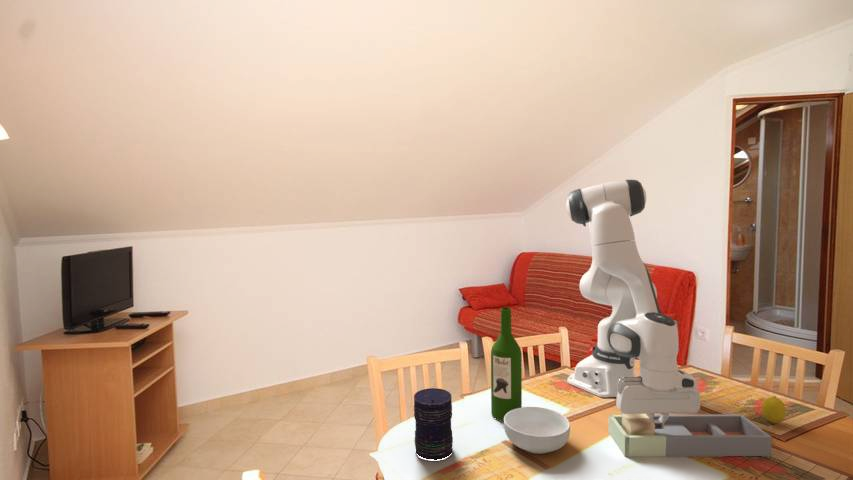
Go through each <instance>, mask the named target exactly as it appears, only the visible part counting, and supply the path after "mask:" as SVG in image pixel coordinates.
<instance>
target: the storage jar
mask: <svg viewBox="0 0 853 480" xmlns="http://www.w3.org/2000/svg"><path fill="white" fill-rule="evenodd" d="M452 398H453V397H452V393H450V391H448V390H446V389H443V388H435V387H433V388H432V387H431V388H424V389H420V390H419V391H418V390H417V392H415V393H414V395H413V413H414V414H413V416H414V420H415V431H414V445H415V446H414V447H415V449H416V453H417V454H418V455H419V456H421V457H423V458H426V459H434V460H437V459H442V458H445V457H447V456H449V455H450V454H451V453H452V454H453V443H454V439H453V430H452V418H453V417H452V416H453V412H452V411H453V404H452ZM416 453H415V454H416Z"/></svg>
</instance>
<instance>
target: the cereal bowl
mask: <svg viewBox="0 0 853 480" xmlns="http://www.w3.org/2000/svg"><path fill="white" fill-rule="evenodd" d="M503 428H504V433H505V435H506V437H507V438H508V440H509V441H510V442H511V443H512V444H514V445H515V446H516V447H518V448H520V449H522V450H523V451H524V450H525V451H526V452H528V453H531V454H538V455H539V454H540V455H541V454H542V455H543V454H546V453H551V452H555V451H557V450H559V449H561V448H562V447H564V446H565V444H566V443H568V441H569V438H570V432H571V423H570V421H569V419H568V417H566V416H565V415H563V414H562V413H560V412H558V411H556V410H554V409H549V408H546V407H541V406H522V408H517V409H514V410H511V411H509V412H508V413H507V414H506V415H505V416H504V422H503Z"/></svg>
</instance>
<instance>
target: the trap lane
mask: <svg viewBox="0 0 853 480" xmlns="http://www.w3.org/2000/svg"><path fill="white" fill-rule="evenodd" d="M660 416H661V414H655V417H652V418H653V419H654V420H659V418H660ZM607 430H608V434H609V435H610V436H611V438H612V440H613V442H614V443H615V445H616V446H617V447H618V449H619V450H620V452H621V454H622V455H623V456H624V457H626V458H627V457H628V458H629V457H634V458H635V457H636V458H637V457H645V458H646V457H650V458H651V457H653V458H654V457H656V458H657V457H663V456H664V457H663V458H665V457H666V458H667V457H673V458H675V457H679V458H680V457H682V458H683V457H685V456H686V457H688V458H689V457H692V458H693V457H699V458H701V457H715V458H719V457H724V456H762V457H764V456H765V458H766V457H769V458H770V457H772V444H773V442H772V441H773V436H771V435H770V434H769V433H767V432H766V431H764V430H763V429H762V428H760V427H759V426H758V425H756V423H754V422H753V421H751V420H750V419H748V418H747V417H746V416H745V415H744V414H739V413H737V414H736V413H735V414H733V413H732V414H730V413H729V414H727V413H725V414H723V413H722V414H720V413H718V414H669V418H668V419H667V420H666V422H665V423H664V429H655V435H627V434H626V432H625V431H624V430H623V428H622V414H608V429H607ZM686 457H685V458H686Z"/></svg>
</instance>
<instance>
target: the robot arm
mask: <svg viewBox="0 0 853 480" xmlns="http://www.w3.org/2000/svg"><path fill="white" fill-rule="evenodd" d="M646 203H647V193H646V190H645V188H644V186H643V185H642V182H641V181H639V180H638V179H625V180H618V181H607V182H602V183H600V184H595V185H591V186H588V187H584V188H577V189H575V190H573V191H570V192H569V193H568V195H567V199H566V212H567V214H568V217H569V218H570V219H571V221H572V222H574V223H575V224H579V225H583V227H587V225H586V224H588V230H589V231H588V232H589V239H590V245H591V246H590V247H591V255H592V261H591V265H590V267H589V269H588V270H587V271H586V272H585V273H584V274H583V275H582V277H581V278H580V281H579V292H580V294H581V296H582V297H583V298H585V299H587V300H589V301H591V302H594V303H595V304H600V305H605V306H610V307H612V311H611V314H610V316H609V315H608V316H607V317H604V318H602V319H601V320H600V321H599V323H598V325H597V343H596V344H594V345H593V346H592V347H590V348H589V351H590V352H592V354H591V355H589V356H587V357H585V358H584V359H582V360H581V361H579V362H577V364H576V365H575V369H574V372H573V373H571V374H570V375H569V376H568V377H567V381H566V382H567V384H570V385H571V386H574V387H576V388H578V389H581V390H582V391H585V392H588V393H590V394H593V395H595V396H597V397H600V398H616V401H615V402H616V403H615V405H616V407H617V409H618V410H619V412H621V414H646V415H647V416H648V418H649V419H650V420H651V421H652V422H653V423H654V424H655V429H664V423H665V422H666V420H667V419H668V418H669V415H670V414H698V413H699V411H701V393H700V391H699V389H698V386H699V380H697V378H695V377H694V376H693V375H691V374H690V373H689V372H687V371H685V370H683V369H680V368H678V367H679V366H678V363H677V358H678V357H677V356H678V355H679V354H678V353H679V330H678V325H677V323H676V320H674V319H673V318H672V317H671V316H670V315H667V314H665V313H662V311H661V309H660V308H661V307H660V306H659V302H658V298H657V297H658V291H657V287H656V285H655V284H654V282H653V281H652V278H651V275H650V272H649V269H648V267H647V265H646V263H645V262H643V259H642V258H641V255H640V253H639V251H638V248H637V243H636V237H635V232H634V228H633V224H632V220H631V219H630V217H633V216H635V215H638V214H640V213H642V212H643V210H645V208H646ZM636 359H638V360H639V373H638V375H639V376H636V375H635V368H634V367H635V363H636ZM655 415H661V416H660V418H659V420H654V419H653V418H652V417H655Z"/></svg>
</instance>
